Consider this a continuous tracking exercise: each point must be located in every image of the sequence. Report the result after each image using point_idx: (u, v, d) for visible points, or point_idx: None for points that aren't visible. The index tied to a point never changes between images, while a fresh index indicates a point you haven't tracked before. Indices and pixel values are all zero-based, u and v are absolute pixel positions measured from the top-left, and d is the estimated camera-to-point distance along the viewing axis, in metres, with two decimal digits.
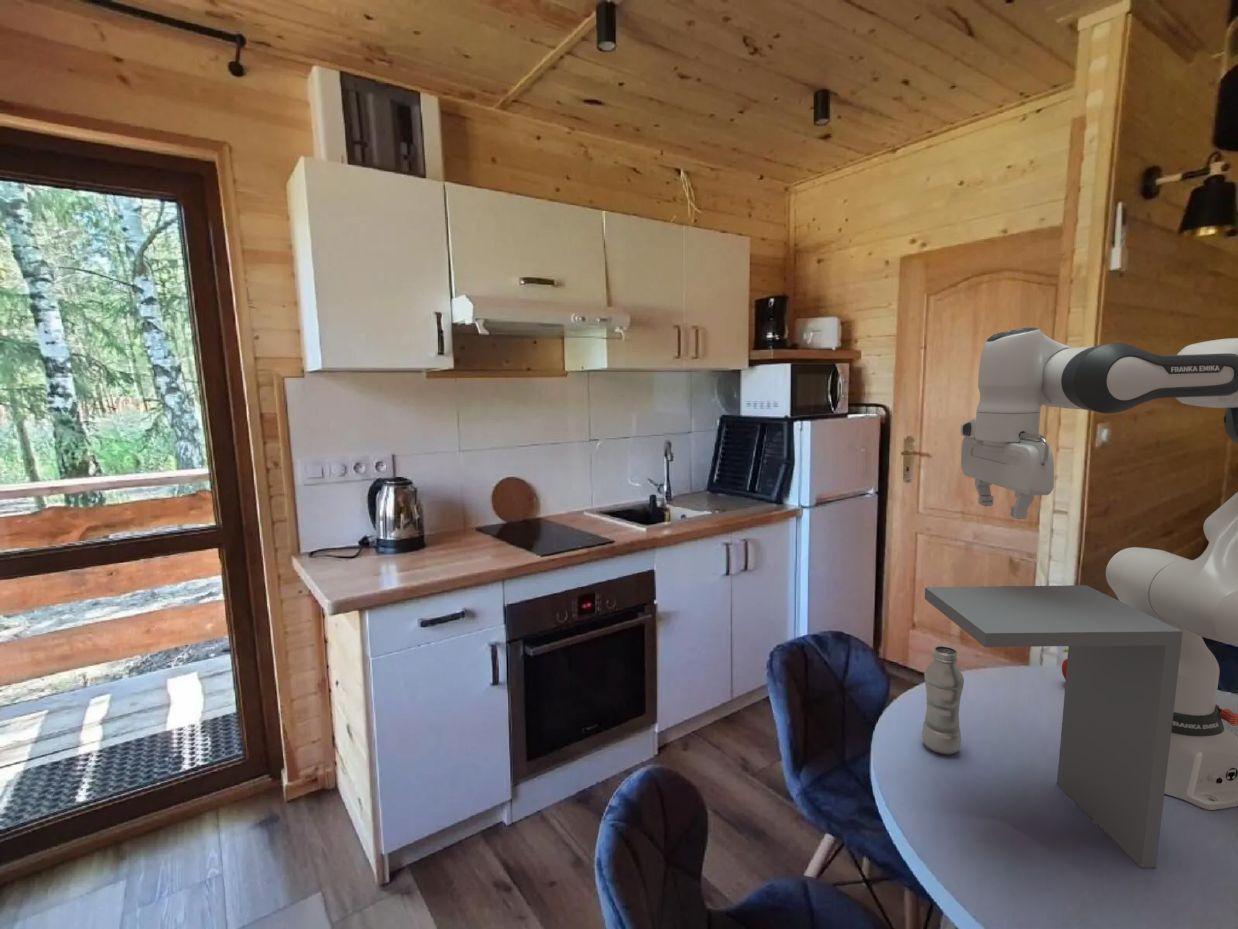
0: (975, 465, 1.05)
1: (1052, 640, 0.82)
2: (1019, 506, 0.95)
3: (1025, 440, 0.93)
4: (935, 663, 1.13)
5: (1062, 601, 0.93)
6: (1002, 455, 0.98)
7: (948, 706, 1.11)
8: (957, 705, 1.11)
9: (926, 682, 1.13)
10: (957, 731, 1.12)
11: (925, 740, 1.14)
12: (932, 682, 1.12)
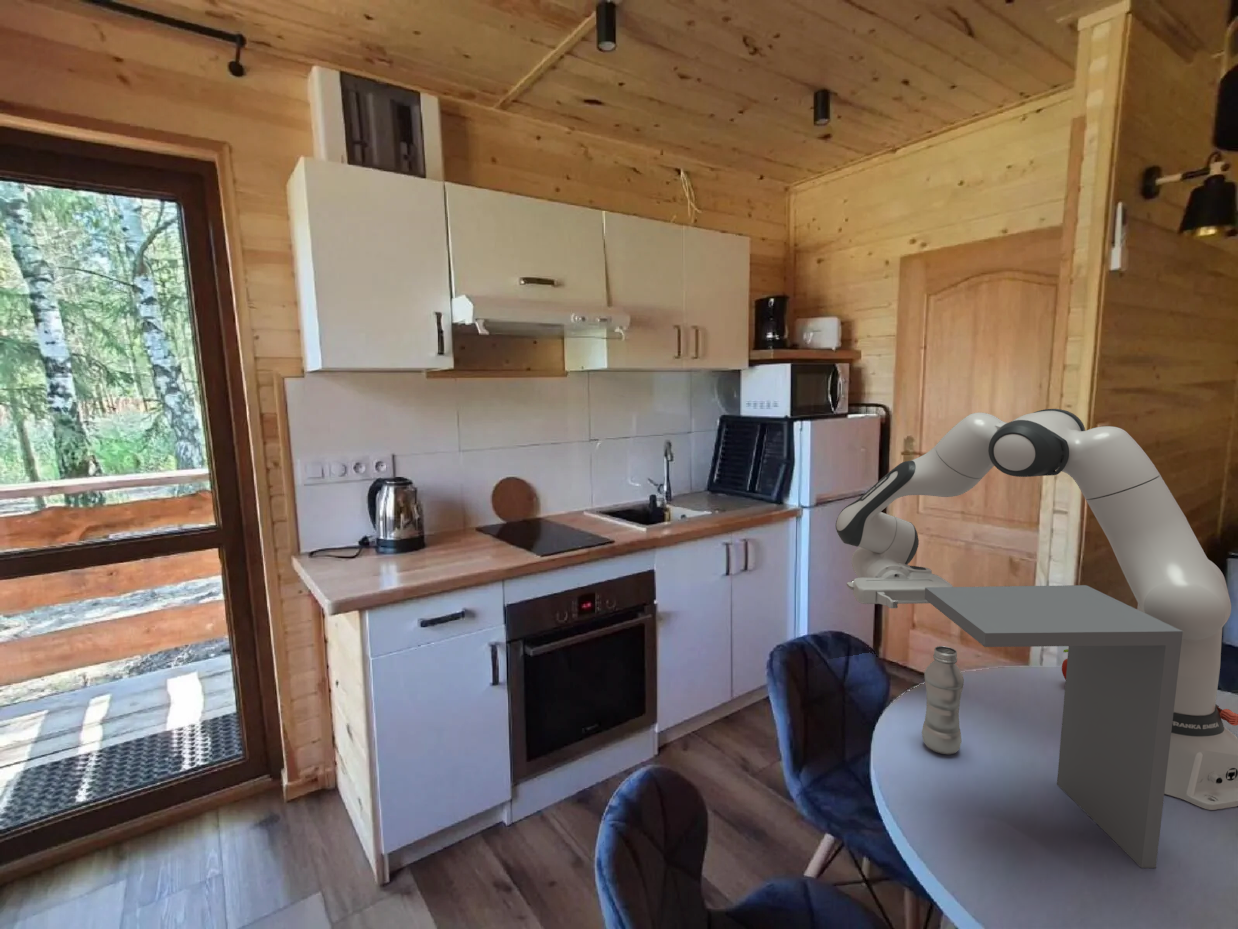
0: None
1: (1052, 640, 0.82)
2: (884, 603, 1.26)
3: None
4: (935, 663, 1.13)
5: (1062, 601, 0.93)
6: None
7: (948, 706, 1.11)
8: (957, 705, 1.11)
9: (926, 682, 1.13)
10: (957, 731, 1.12)
11: (925, 740, 1.14)
12: (932, 682, 1.12)
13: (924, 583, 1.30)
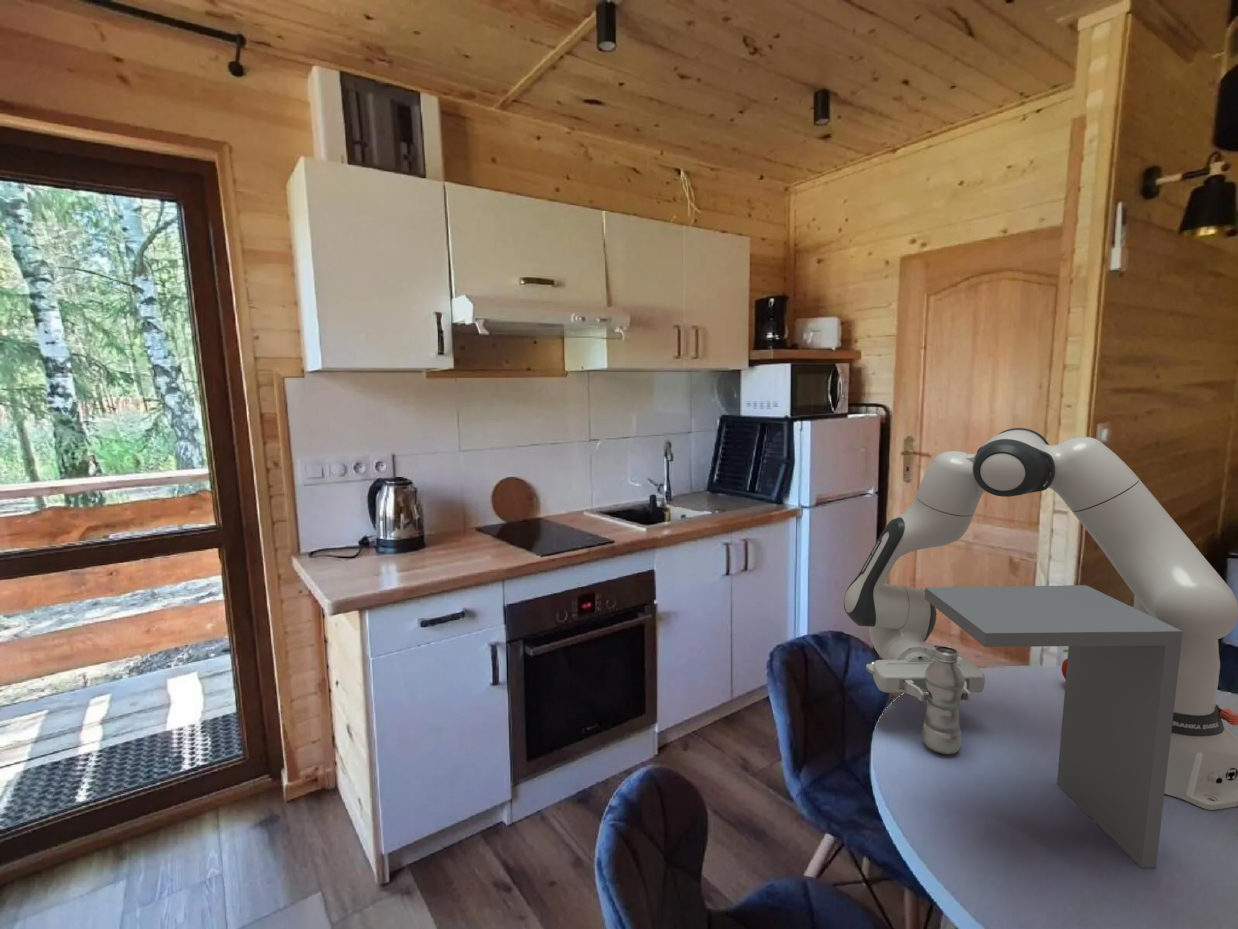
0: None
1: (1052, 640, 0.82)
2: (913, 694, 1.15)
3: None
4: (936, 663, 1.13)
5: (1062, 601, 0.93)
6: None
7: (948, 706, 1.11)
8: (957, 705, 1.11)
9: (927, 682, 1.13)
10: (957, 731, 1.12)
11: (925, 740, 1.14)
12: (933, 682, 1.12)
13: None
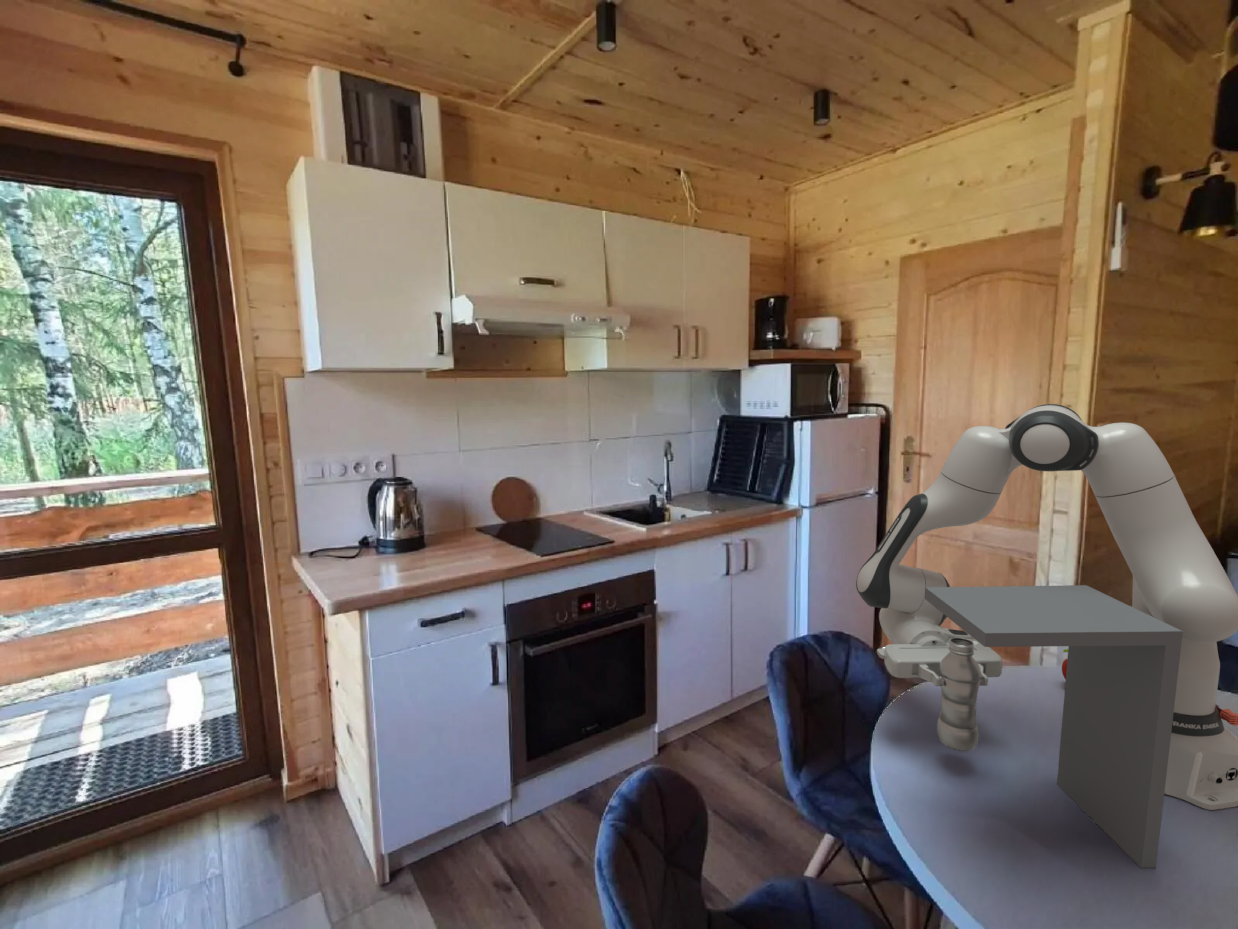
0: None
1: (1052, 640, 0.82)
2: (928, 679, 1.09)
3: None
4: (950, 655, 1.07)
5: (1062, 601, 0.93)
6: None
7: (963, 700, 1.06)
8: (973, 700, 1.06)
9: None
10: (973, 727, 1.06)
11: (939, 735, 1.09)
12: (946, 674, 1.07)
13: None
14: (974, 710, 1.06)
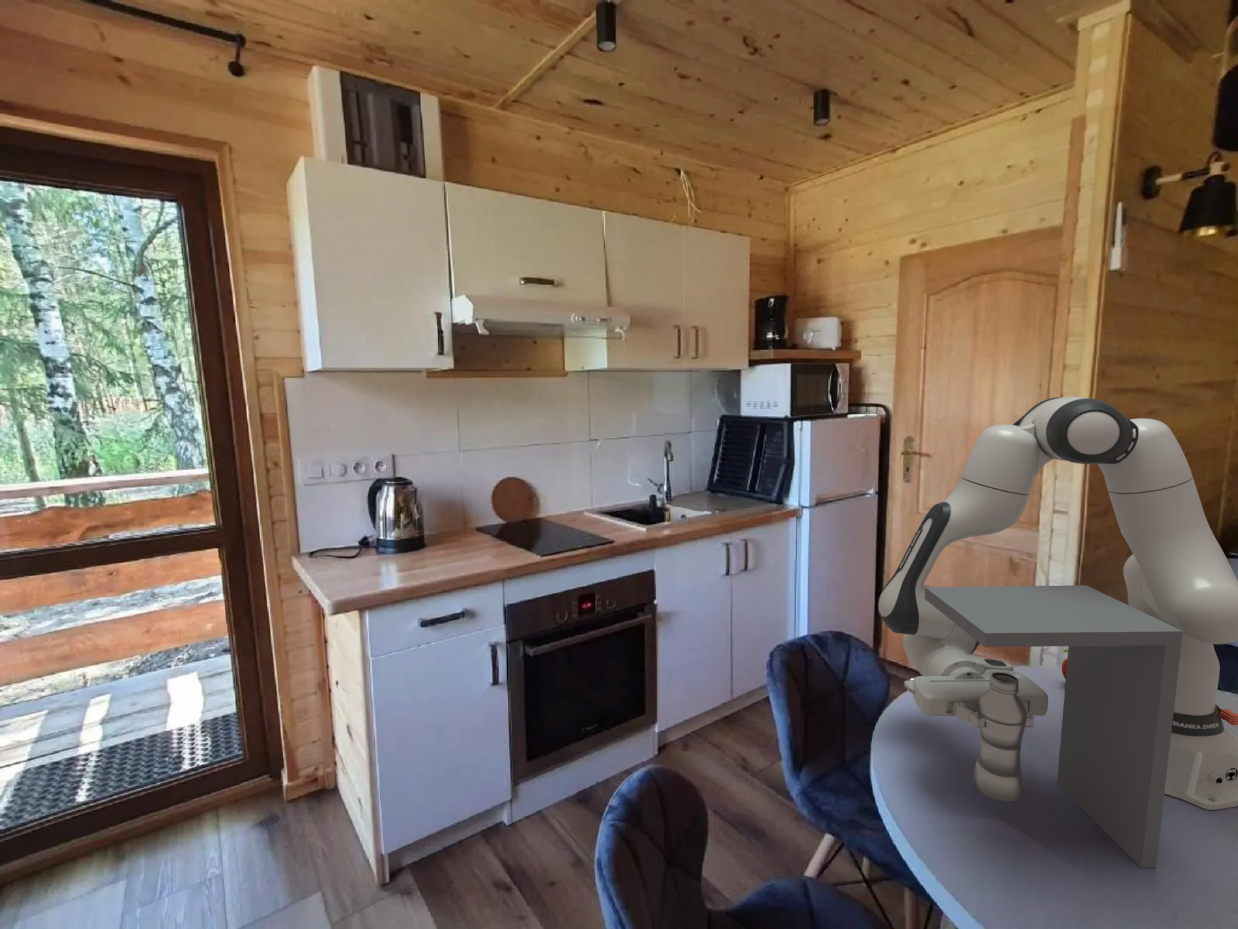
0: None
1: (1052, 640, 0.82)
2: (965, 719, 0.97)
3: None
4: (991, 692, 0.94)
5: (1062, 601, 0.93)
6: None
7: (1006, 745, 0.93)
8: (1018, 744, 0.93)
9: None
10: (1017, 775, 0.94)
11: (977, 782, 0.97)
12: (986, 715, 0.94)
13: None
14: (1019, 755, 0.94)
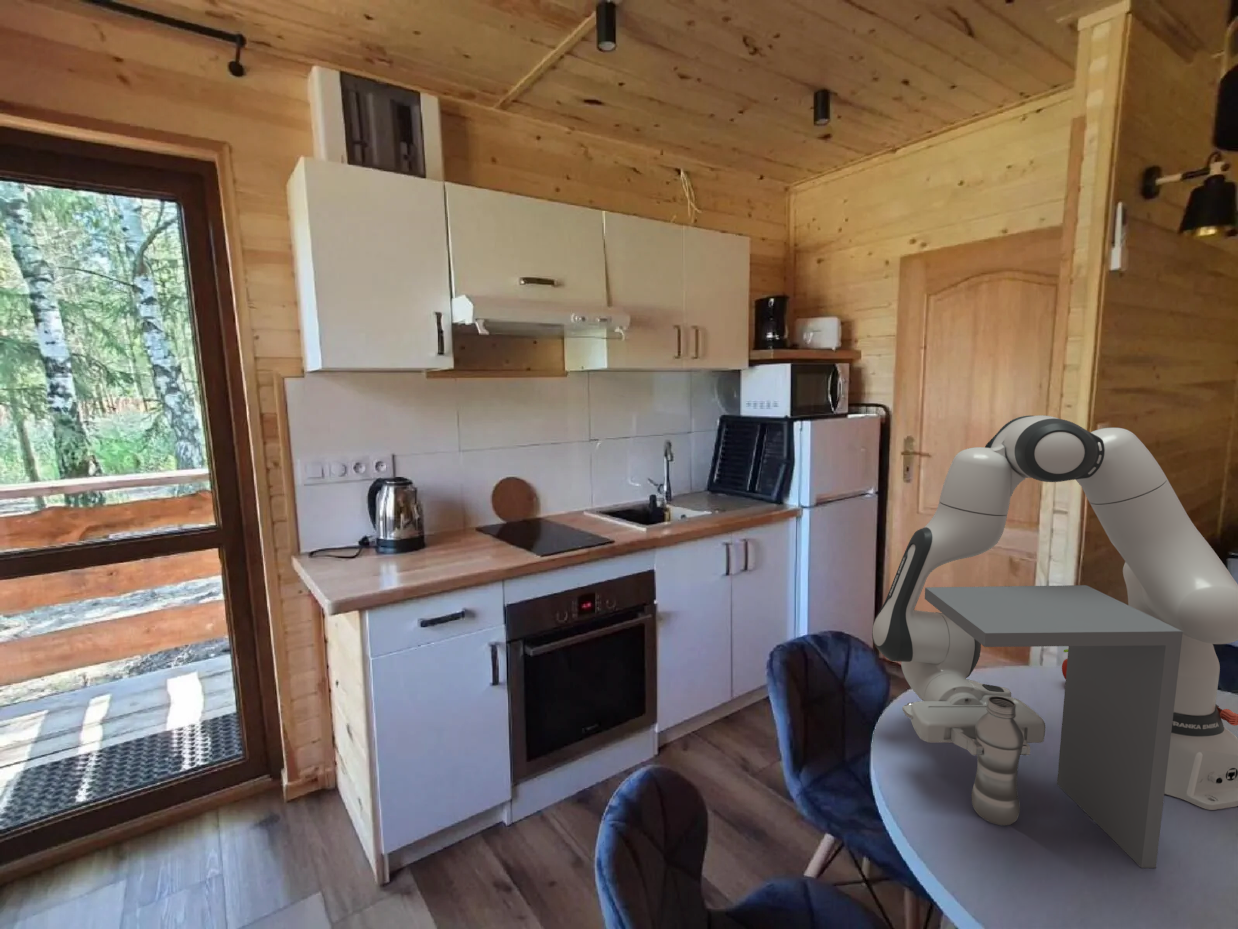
0: None
1: (1052, 640, 0.82)
2: (963, 746, 0.97)
3: None
4: (988, 716, 0.95)
5: (1062, 601, 0.93)
6: None
7: (1003, 769, 0.94)
8: (1014, 768, 0.94)
9: (977, 737, 0.96)
10: (1014, 799, 0.94)
11: (974, 805, 0.97)
12: (983, 738, 0.94)
13: None
14: (1015, 779, 0.94)
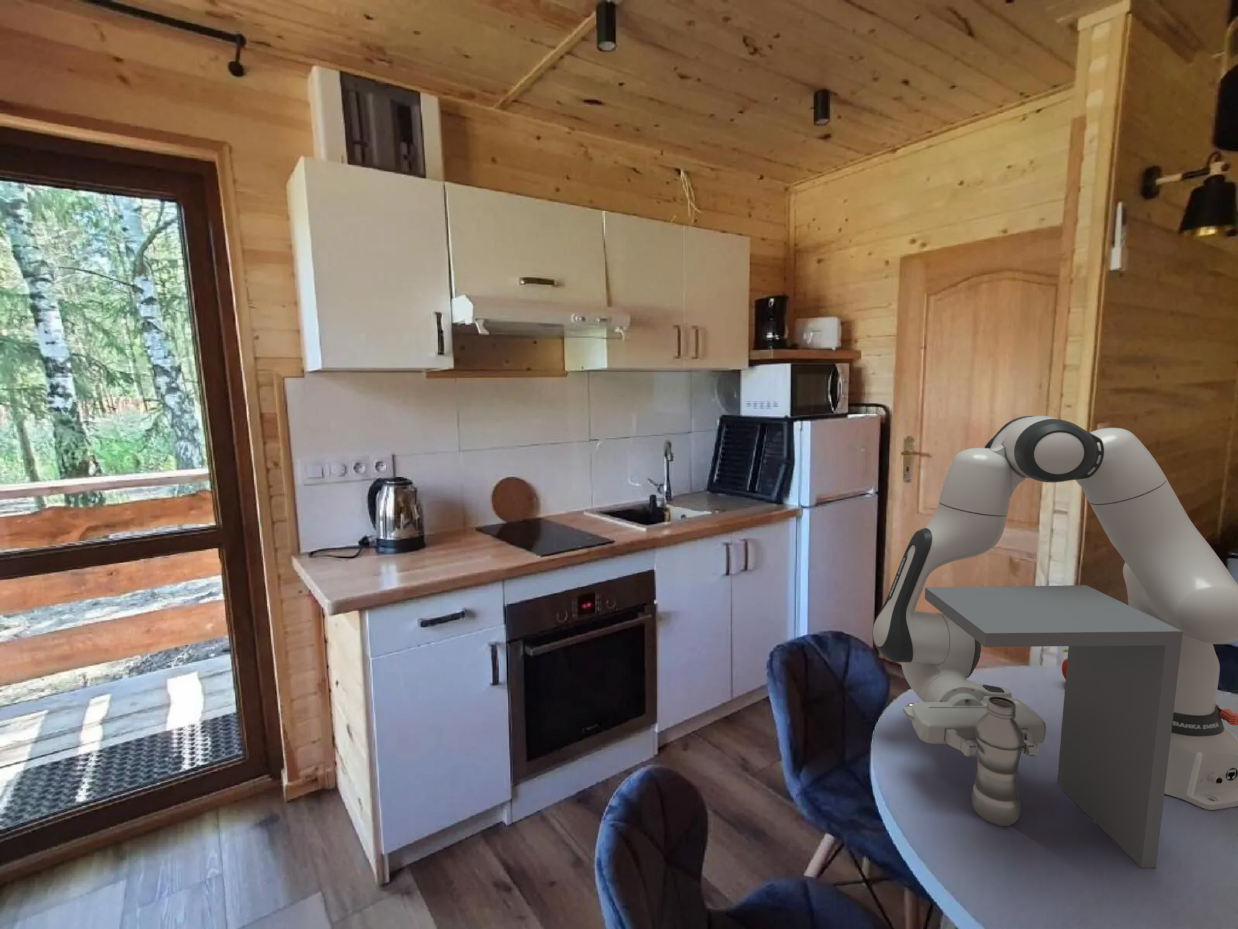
0: None
1: (1052, 640, 0.82)
2: (957, 747, 0.97)
3: None
4: (988, 716, 0.95)
5: (1062, 601, 0.93)
6: None
7: (1003, 769, 0.93)
8: (1015, 769, 0.93)
9: (977, 738, 0.96)
10: (1014, 799, 0.94)
11: (974, 805, 0.97)
12: (984, 739, 0.94)
13: None
14: (1016, 779, 0.94)
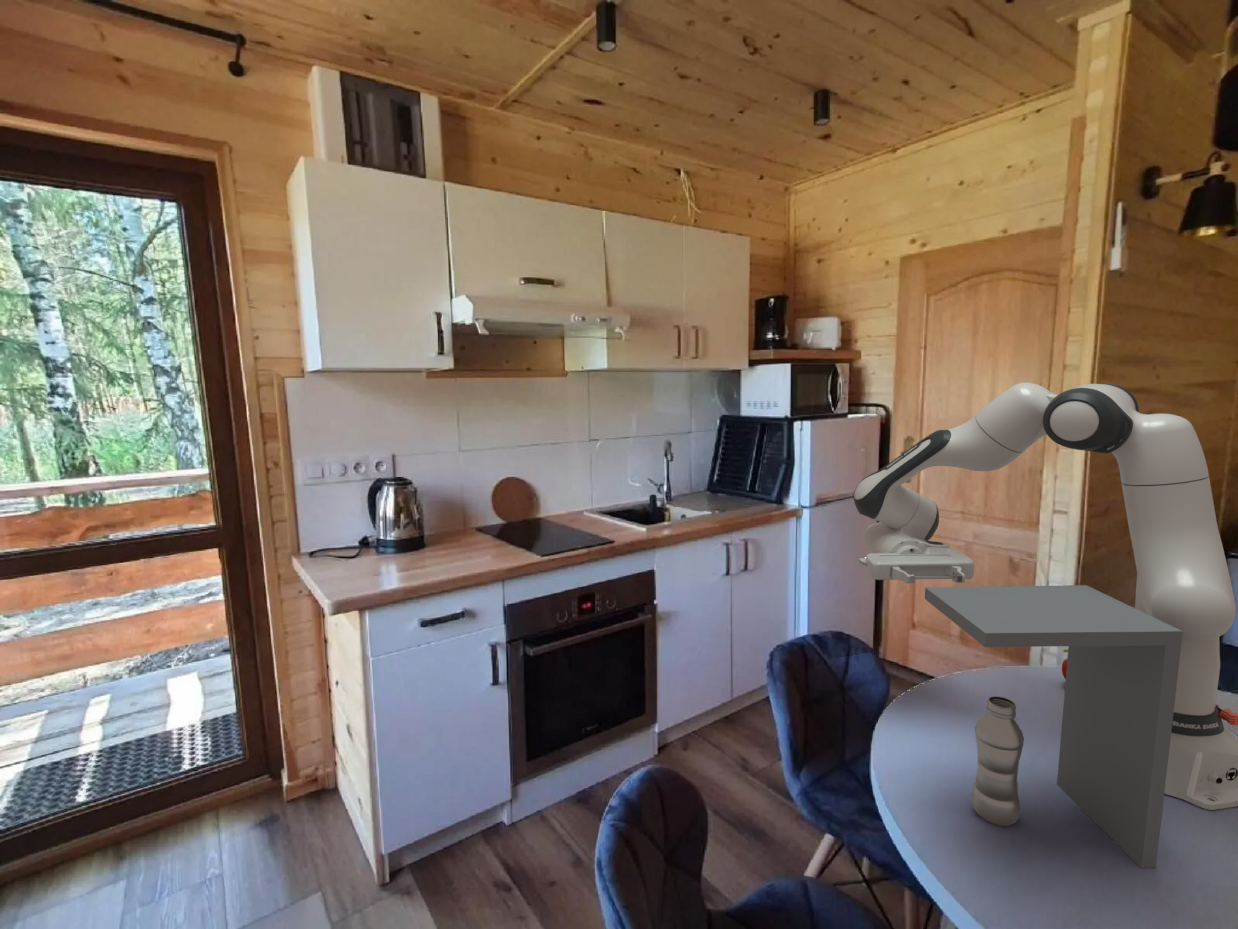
0: None
1: (1052, 640, 0.82)
2: (899, 578, 1.18)
3: None
4: (988, 716, 0.95)
5: (1062, 601, 0.93)
6: None
7: (1003, 769, 0.93)
8: (1015, 769, 0.93)
9: (977, 738, 0.96)
10: (1014, 799, 0.94)
11: (974, 805, 0.97)
12: (984, 739, 0.94)
13: (942, 558, 1.22)
14: (1016, 779, 0.94)
